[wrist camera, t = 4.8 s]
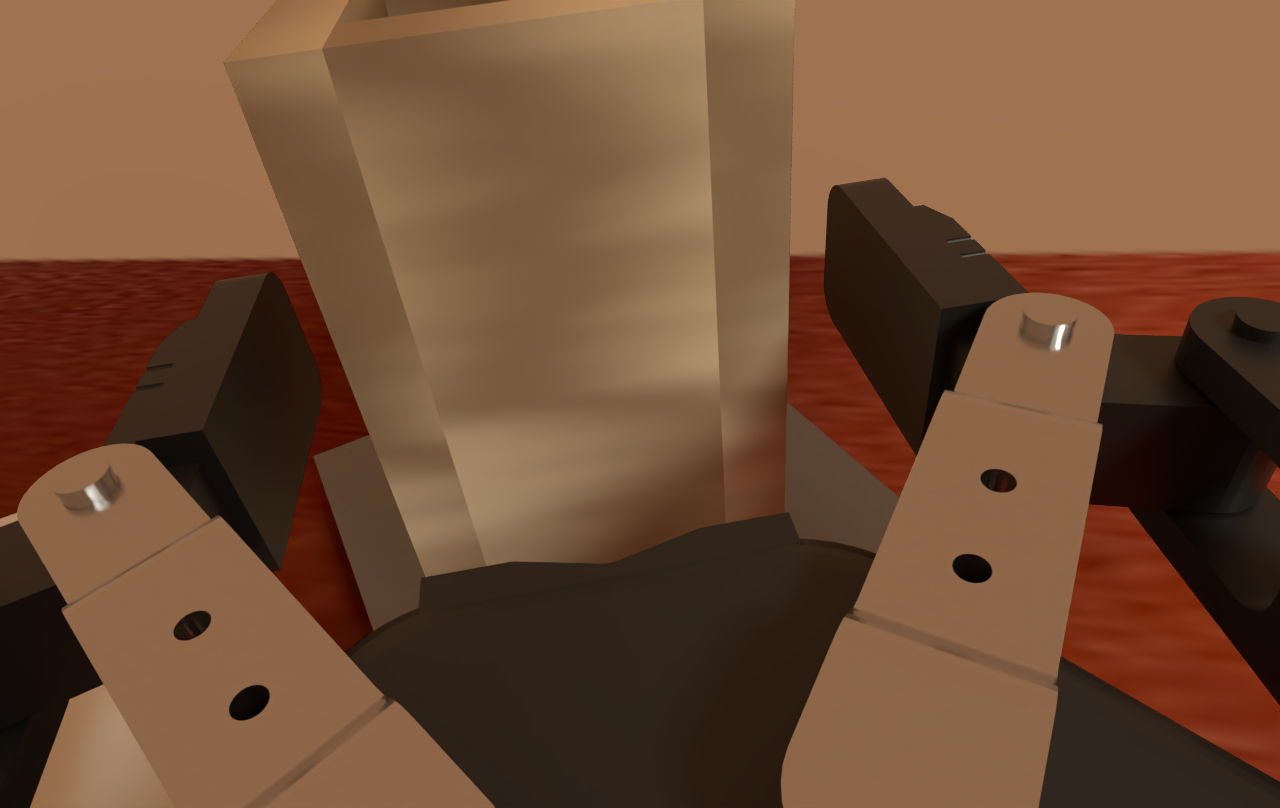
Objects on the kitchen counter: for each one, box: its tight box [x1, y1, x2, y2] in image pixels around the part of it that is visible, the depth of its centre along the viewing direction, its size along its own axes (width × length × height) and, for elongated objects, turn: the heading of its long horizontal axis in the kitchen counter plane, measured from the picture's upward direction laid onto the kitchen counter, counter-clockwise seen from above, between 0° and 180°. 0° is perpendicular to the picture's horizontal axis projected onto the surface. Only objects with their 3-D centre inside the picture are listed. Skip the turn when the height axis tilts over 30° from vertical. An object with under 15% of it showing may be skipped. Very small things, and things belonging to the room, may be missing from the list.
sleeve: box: [224, 0, 795, 577], centre depth 14 cm, size 6×6×10 cm
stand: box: [313, 402, 899, 631], centre depth 15 cm, size 10×10×10 cm
